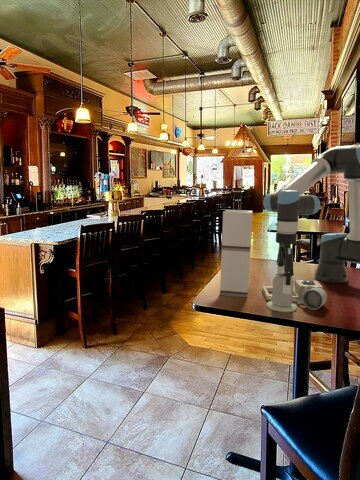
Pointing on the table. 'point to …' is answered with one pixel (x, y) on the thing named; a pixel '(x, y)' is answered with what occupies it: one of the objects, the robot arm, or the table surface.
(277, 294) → the can
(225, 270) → the tall seamed white tower
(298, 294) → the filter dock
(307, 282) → the glossy grey oval piece
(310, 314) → the table surface
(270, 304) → the pad
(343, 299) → the table surface
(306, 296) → the ceramic mug
